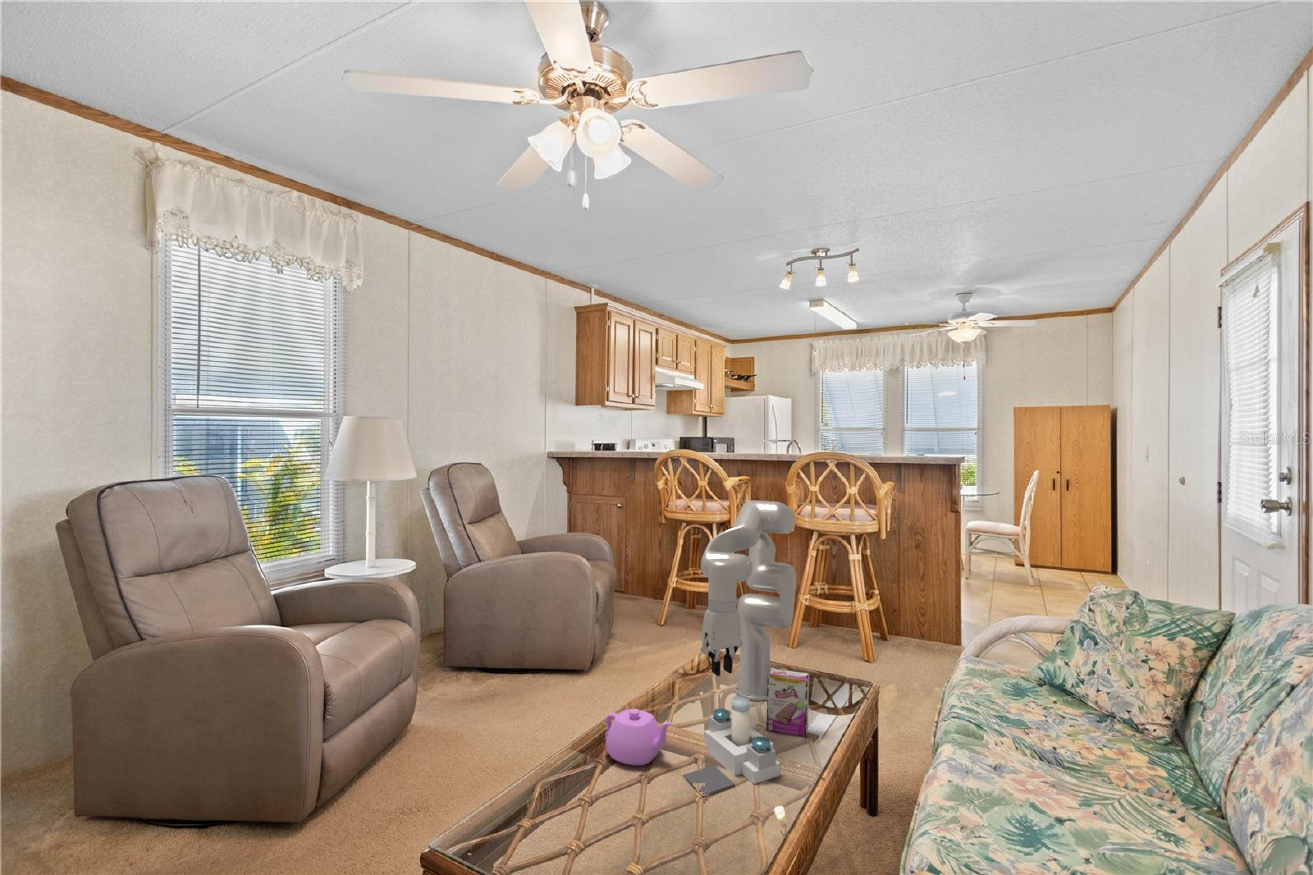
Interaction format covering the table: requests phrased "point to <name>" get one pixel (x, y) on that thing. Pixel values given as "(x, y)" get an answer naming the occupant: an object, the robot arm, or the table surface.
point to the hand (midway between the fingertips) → (721, 672)
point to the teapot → (634, 737)
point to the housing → (740, 753)
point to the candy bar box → (787, 702)
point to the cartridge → (740, 721)
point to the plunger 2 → (761, 744)
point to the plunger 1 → (721, 715)
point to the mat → (710, 780)
